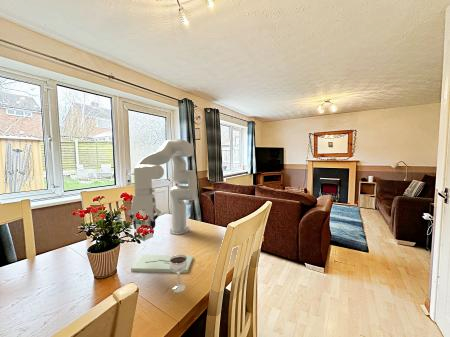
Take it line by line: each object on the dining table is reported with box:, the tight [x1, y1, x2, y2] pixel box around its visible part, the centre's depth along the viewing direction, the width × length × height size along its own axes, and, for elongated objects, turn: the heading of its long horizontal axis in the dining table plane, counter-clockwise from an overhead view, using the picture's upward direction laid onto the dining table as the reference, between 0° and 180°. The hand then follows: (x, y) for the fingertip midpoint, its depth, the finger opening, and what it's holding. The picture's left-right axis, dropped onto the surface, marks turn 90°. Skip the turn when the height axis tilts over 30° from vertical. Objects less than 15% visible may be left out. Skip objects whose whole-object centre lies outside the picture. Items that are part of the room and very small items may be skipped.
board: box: [130, 254, 194, 274], centre depth 94 cm, size 12×26×2 cm, turn 87°
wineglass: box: [170, 254, 187, 293], centre depth 77 cm, size 7×7×12 cm
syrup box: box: [135, 210, 154, 242], centre depth 93 cm, size 6×6×14 cm
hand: (144, 228), depth 93 cm, fingers closed on syrup box, 7 cm apart
